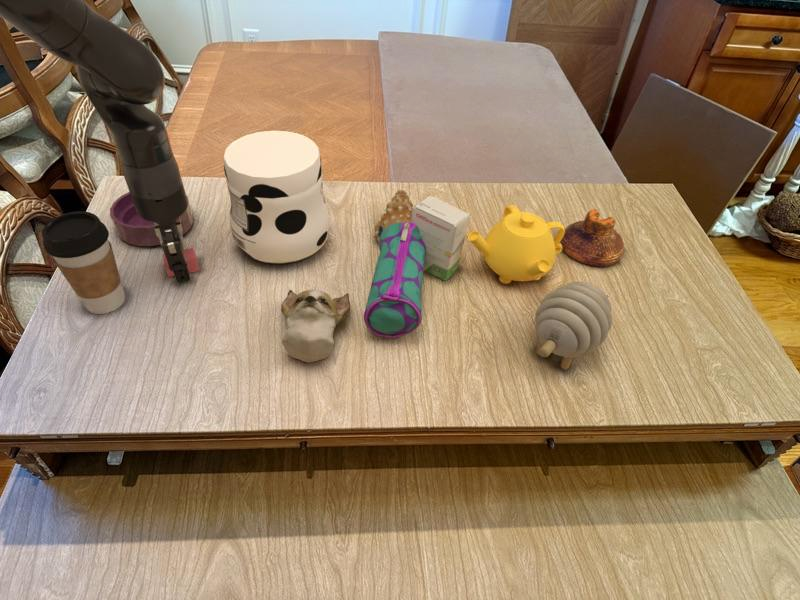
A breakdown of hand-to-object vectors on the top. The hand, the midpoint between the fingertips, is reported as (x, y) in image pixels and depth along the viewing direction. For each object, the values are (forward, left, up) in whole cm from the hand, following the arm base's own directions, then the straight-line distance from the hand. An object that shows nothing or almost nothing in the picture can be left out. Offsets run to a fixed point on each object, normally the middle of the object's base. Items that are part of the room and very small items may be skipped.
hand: (181, 268), depth 92 cm
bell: (+72, -18, 0) cm, 74 cm away
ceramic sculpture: (+17, -22, 0) cm, 28 cm away
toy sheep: (+52, -37, 0) cm, 64 cm away
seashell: (+39, -1, 0) cm, 39 cm away
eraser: (0, 0, 0) cm, 0 cm away
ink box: (+41, -13, 0) cm, 43 cm away
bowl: (-3, +14, 0) cm, 14 cm away
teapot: (+54, -19, 0) cm, 57 cm away
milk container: (+18, +2, 0) cm, 18 cm away
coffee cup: (-12, -4, 0) cm, 13 cm away
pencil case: (+32, -18, 0) cm, 37 cm away
